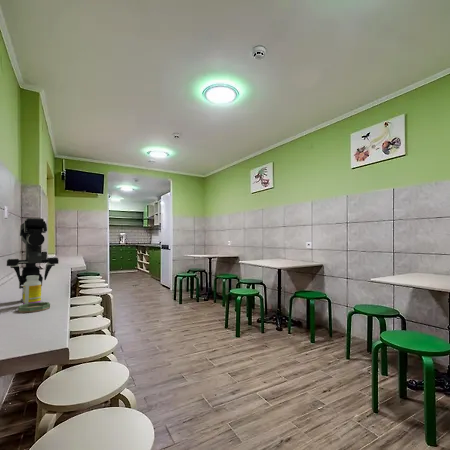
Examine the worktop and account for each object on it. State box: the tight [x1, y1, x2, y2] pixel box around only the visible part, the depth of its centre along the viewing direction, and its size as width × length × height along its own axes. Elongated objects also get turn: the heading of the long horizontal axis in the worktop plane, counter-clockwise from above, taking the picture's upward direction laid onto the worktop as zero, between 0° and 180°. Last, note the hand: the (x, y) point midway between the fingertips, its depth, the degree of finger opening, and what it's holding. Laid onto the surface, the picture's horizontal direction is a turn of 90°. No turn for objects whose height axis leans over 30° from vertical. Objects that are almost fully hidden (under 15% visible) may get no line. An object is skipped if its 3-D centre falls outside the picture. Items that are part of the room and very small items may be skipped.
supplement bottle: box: [22, 275, 42, 305], centre depth 121 cm, size 7×7×13 cm
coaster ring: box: [17, 301, 51, 314], centre depth 112 cm, size 11×11×2 cm
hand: (32, 280), depth 122 cm, fingers open, 9 cm apart
